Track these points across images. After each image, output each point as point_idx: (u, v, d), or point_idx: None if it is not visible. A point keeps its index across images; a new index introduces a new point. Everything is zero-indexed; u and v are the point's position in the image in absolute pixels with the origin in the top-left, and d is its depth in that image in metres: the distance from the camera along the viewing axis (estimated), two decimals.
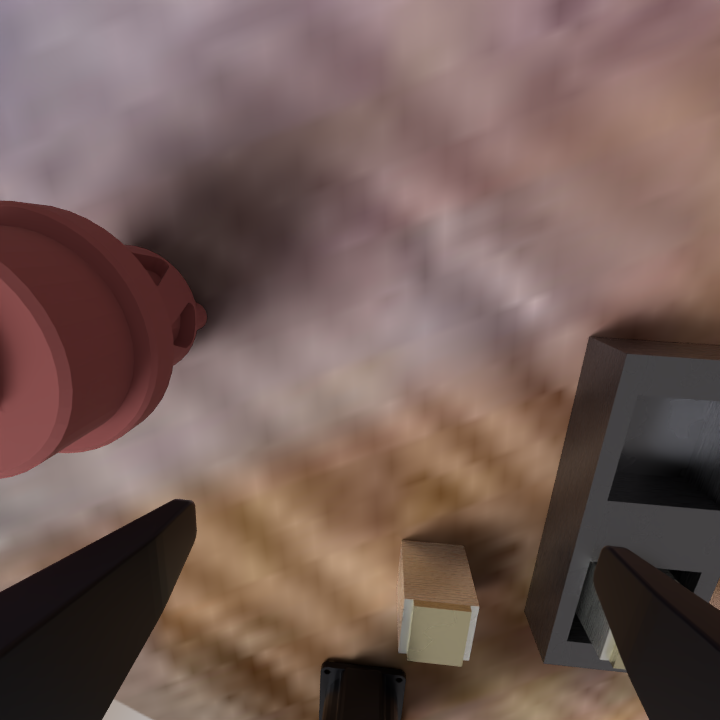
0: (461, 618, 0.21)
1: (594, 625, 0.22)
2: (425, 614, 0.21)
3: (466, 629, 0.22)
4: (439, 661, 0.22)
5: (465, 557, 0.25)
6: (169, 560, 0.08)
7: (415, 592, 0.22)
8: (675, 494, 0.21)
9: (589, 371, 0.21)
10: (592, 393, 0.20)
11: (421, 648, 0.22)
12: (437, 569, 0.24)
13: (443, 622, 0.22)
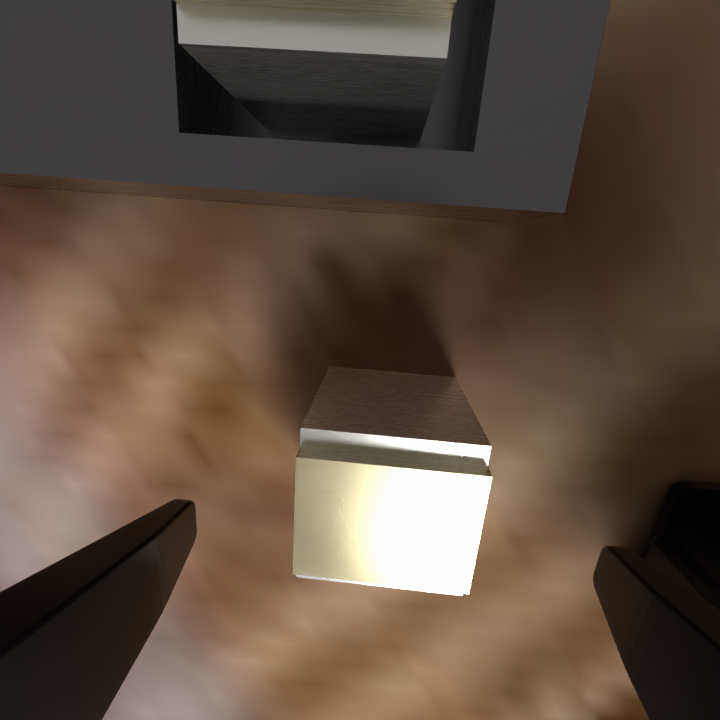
0: (319, 479, 0.08)
1: (374, 82, 0.07)
2: (315, 553, 0.09)
3: (355, 468, 0.08)
4: (472, 527, 0.08)
5: None
6: (169, 560, 0.08)
7: None
8: None
9: None
10: None
11: (426, 564, 0.09)
12: None
13: (336, 517, 0.09)
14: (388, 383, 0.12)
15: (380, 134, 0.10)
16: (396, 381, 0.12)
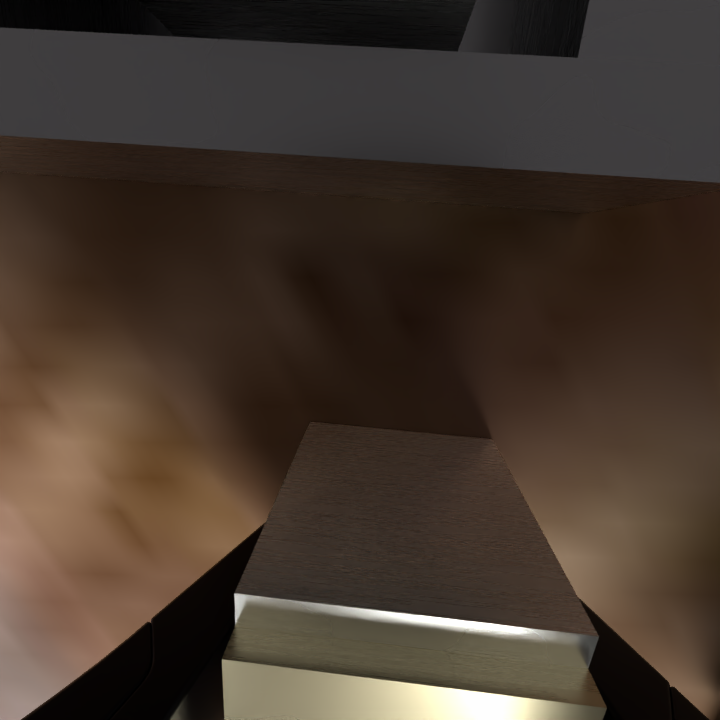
0: (268, 696, 0.04)
1: None
2: None
3: (338, 681, 0.04)
4: None
5: None
6: None
7: None
8: None
9: None
10: None
11: None
12: None
13: None
14: (395, 458, 0.08)
15: None
16: (407, 453, 0.08)
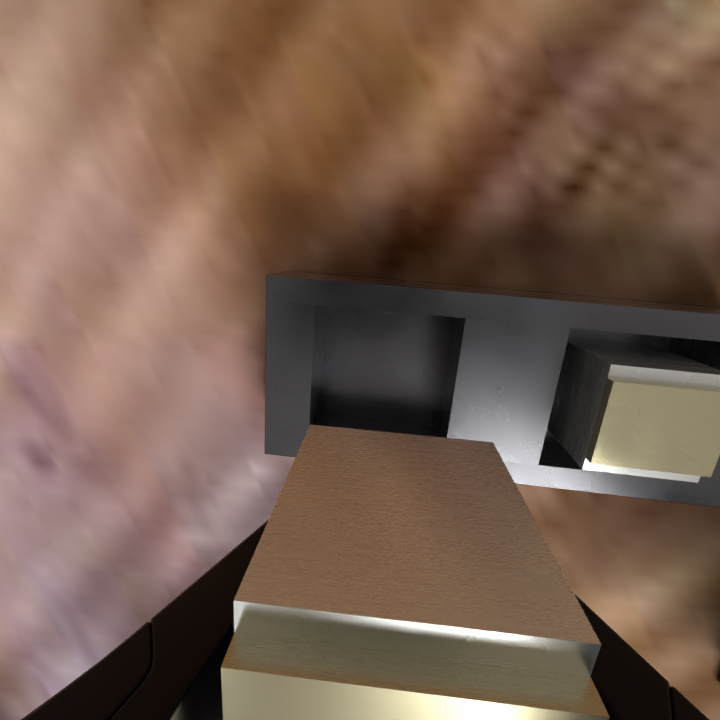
0: (268, 704, 0.04)
1: None
2: None
3: (338, 689, 0.04)
4: None
5: None
6: None
7: None
8: (454, 353, 0.17)
9: None
10: None
11: None
12: None
13: None
14: (396, 461, 0.08)
15: None
16: (407, 456, 0.08)
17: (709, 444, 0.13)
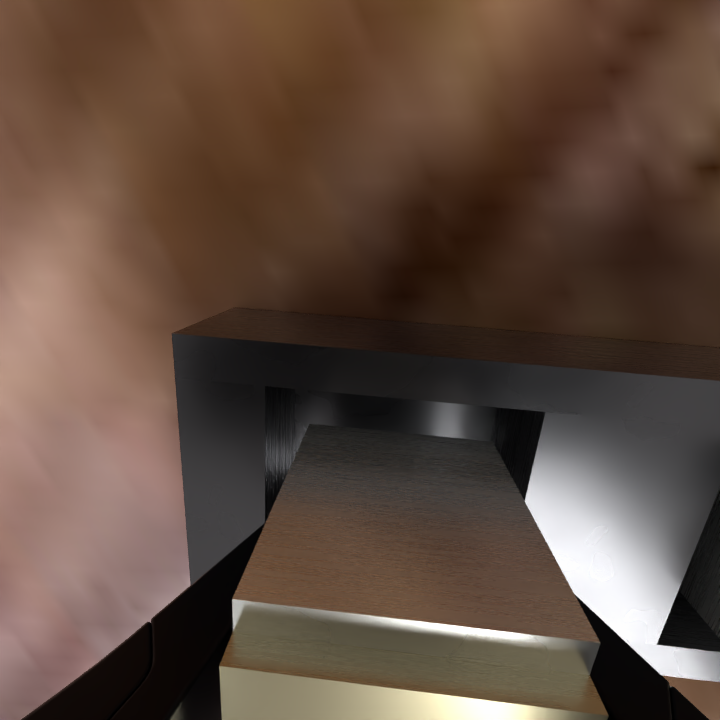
0: (267, 703, 0.04)
1: None
2: None
3: (336, 688, 0.04)
4: None
5: None
6: None
7: None
8: (512, 455, 0.10)
9: None
10: None
11: None
12: None
13: None
14: (395, 460, 0.08)
15: None
16: (407, 456, 0.08)
17: None
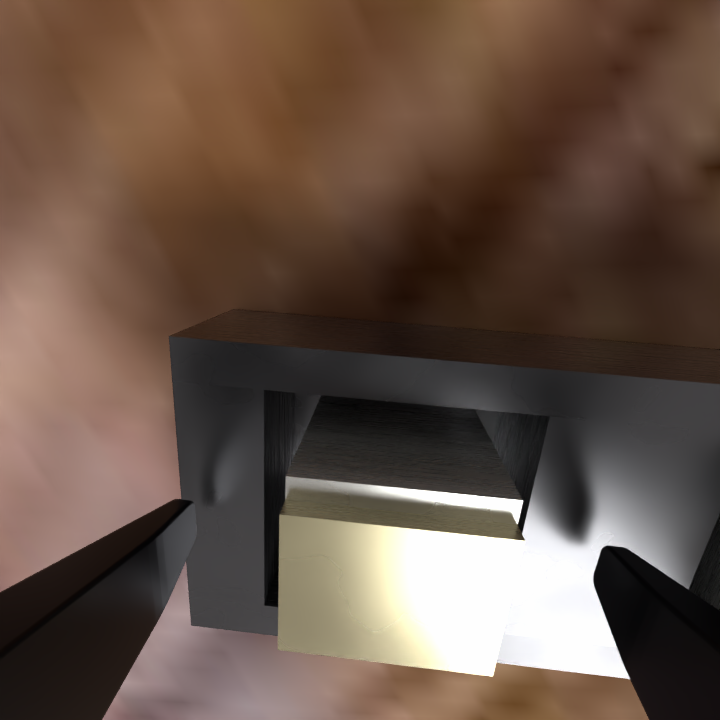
0: (308, 541, 0.07)
1: None
2: (304, 626, 0.07)
3: (354, 528, 0.07)
4: (498, 599, 0.07)
5: None
6: (169, 560, 0.08)
7: None
8: (515, 460, 0.09)
9: None
10: None
11: (440, 641, 0.07)
12: None
13: (330, 586, 0.07)
14: (392, 409, 0.10)
15: None
16: (401, 406, 0.10)
17: None
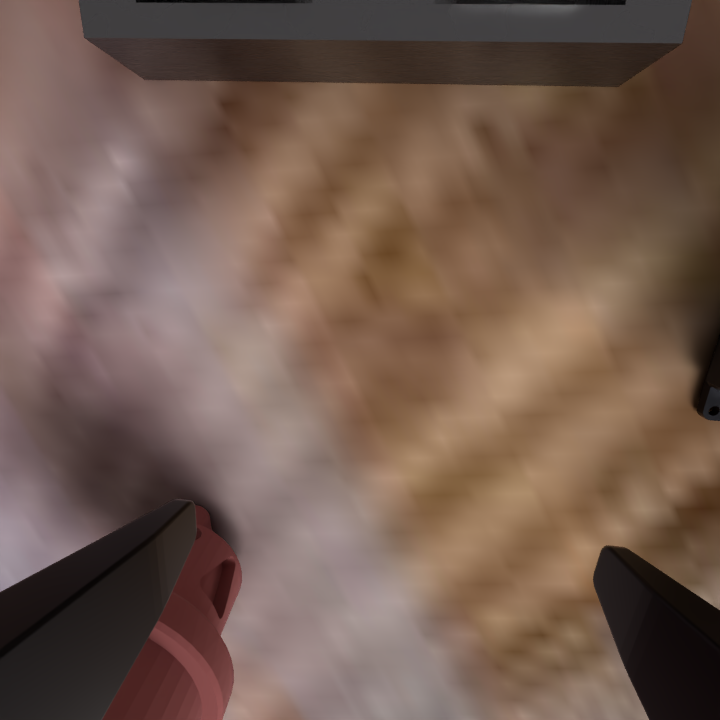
0: None
1: None
2: None
3: None
4: None
5: None
6: (169, 560, 0.08)
7: None
8: None
9: (174, 71, 0.16)
10: (188, 63, 0.15)
11: None
12: None
13: None
14: None
15: None
16: None
17: None
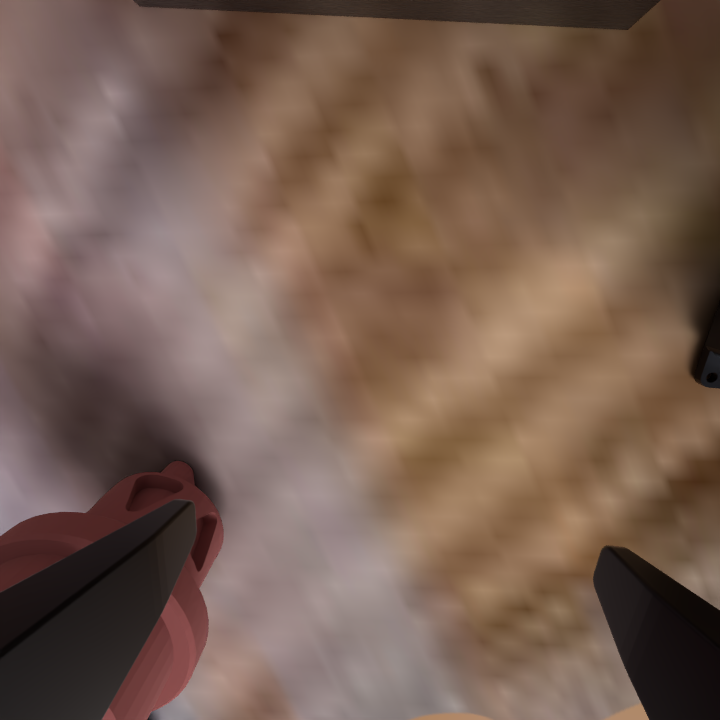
0: None
1: None
2: None
3: None
4: None
5: None
6: (169, 560, 0.08)
7: None
8: None
9: None
10: None
11: None
12: None
13: None
14: None
15: None
16: None
17: None
